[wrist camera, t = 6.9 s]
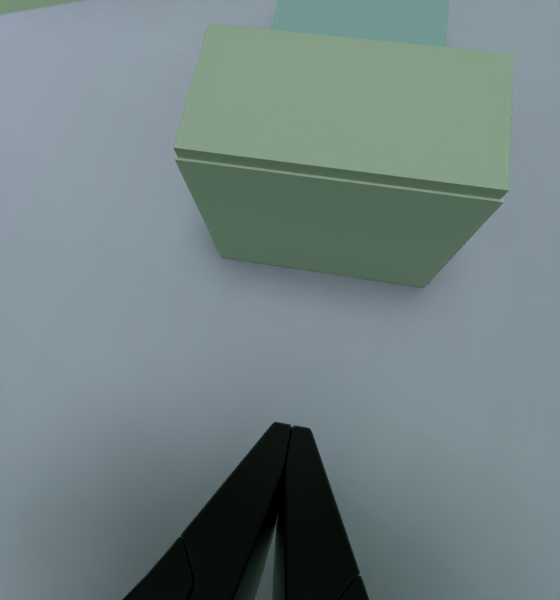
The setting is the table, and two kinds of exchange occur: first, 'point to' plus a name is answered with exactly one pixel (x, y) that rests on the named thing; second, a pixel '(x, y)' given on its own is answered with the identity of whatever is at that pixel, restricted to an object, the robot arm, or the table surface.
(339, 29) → the blue book
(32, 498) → the table surface
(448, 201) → the green book
